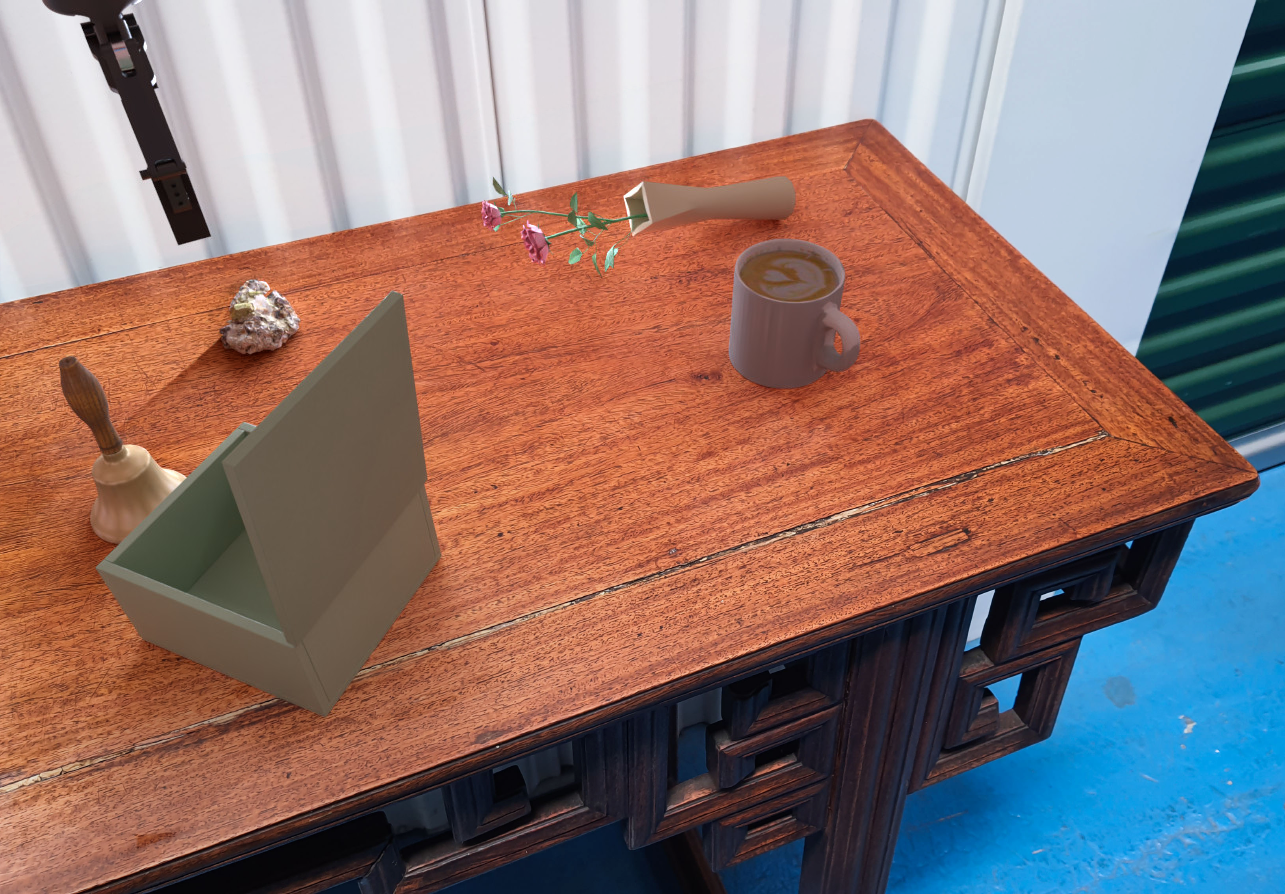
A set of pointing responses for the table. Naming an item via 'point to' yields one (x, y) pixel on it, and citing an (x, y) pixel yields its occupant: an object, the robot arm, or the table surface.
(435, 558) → the chest
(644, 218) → the flower vase
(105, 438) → the hand bell
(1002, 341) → the table surface
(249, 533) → the chest lid
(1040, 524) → the table surface
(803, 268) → the coffee mug
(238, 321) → the mineral rock
